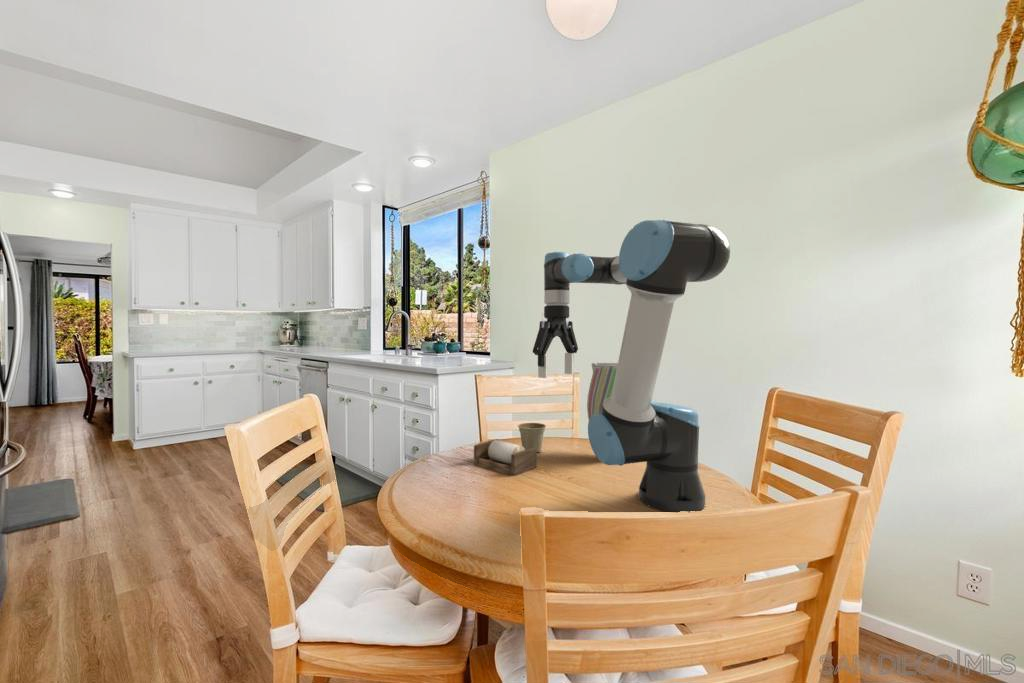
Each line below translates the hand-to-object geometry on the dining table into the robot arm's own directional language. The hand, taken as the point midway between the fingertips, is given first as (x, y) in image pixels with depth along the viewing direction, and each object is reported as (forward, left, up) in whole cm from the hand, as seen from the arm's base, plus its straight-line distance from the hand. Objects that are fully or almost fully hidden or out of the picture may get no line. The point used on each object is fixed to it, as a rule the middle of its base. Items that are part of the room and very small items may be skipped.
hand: (556, 375), depth 139 cm
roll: (+10, +12, -26) cm, 30 cm away
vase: (-10, -14, -27) cm, 32 cm away
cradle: (+10, +12, -27) cm, 31 cm away
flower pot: (+14, -6, -27) cm, 31 cm away
